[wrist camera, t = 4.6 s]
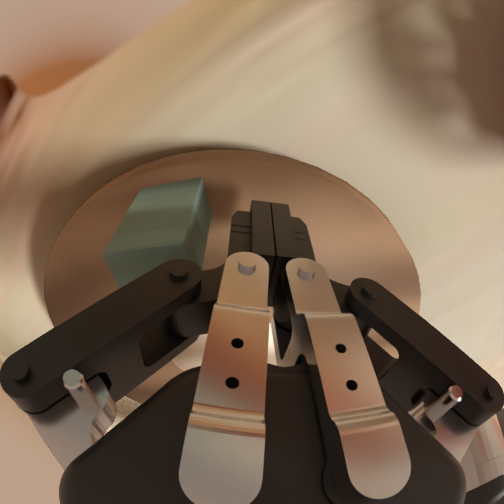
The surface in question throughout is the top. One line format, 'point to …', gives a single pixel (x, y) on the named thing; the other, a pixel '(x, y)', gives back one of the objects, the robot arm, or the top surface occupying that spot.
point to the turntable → (216, 234)
